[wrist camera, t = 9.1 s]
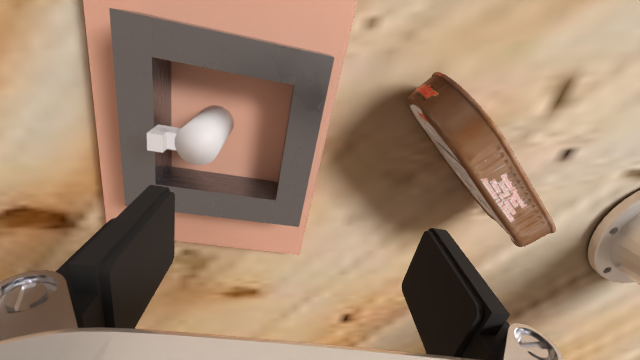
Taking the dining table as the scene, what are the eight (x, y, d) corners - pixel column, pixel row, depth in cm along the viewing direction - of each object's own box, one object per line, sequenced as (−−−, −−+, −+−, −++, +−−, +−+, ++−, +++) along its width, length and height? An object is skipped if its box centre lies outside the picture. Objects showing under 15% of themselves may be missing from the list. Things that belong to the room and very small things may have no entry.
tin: (503, 191, 28) (581, 249, 21) (474, 211, 29) (539, 274, 21) (419, 62, 22) (485, 77, 15) (385, 91, 23) (432, 119, 16)
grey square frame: (328, 54, 20) (334, 57, 17) (298, 206, 25) (298, 226, 22) (136, 11, 18) (109, 7, 15) (144, 185, 23) (125, 206, 20)
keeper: (359, -25, 20) (391, -53, 13) (298, 244, 29) (300, 304, 22) (88, -100, 17) (-34, -180, 11) (116, 223, 26) (60, 284, 20)
